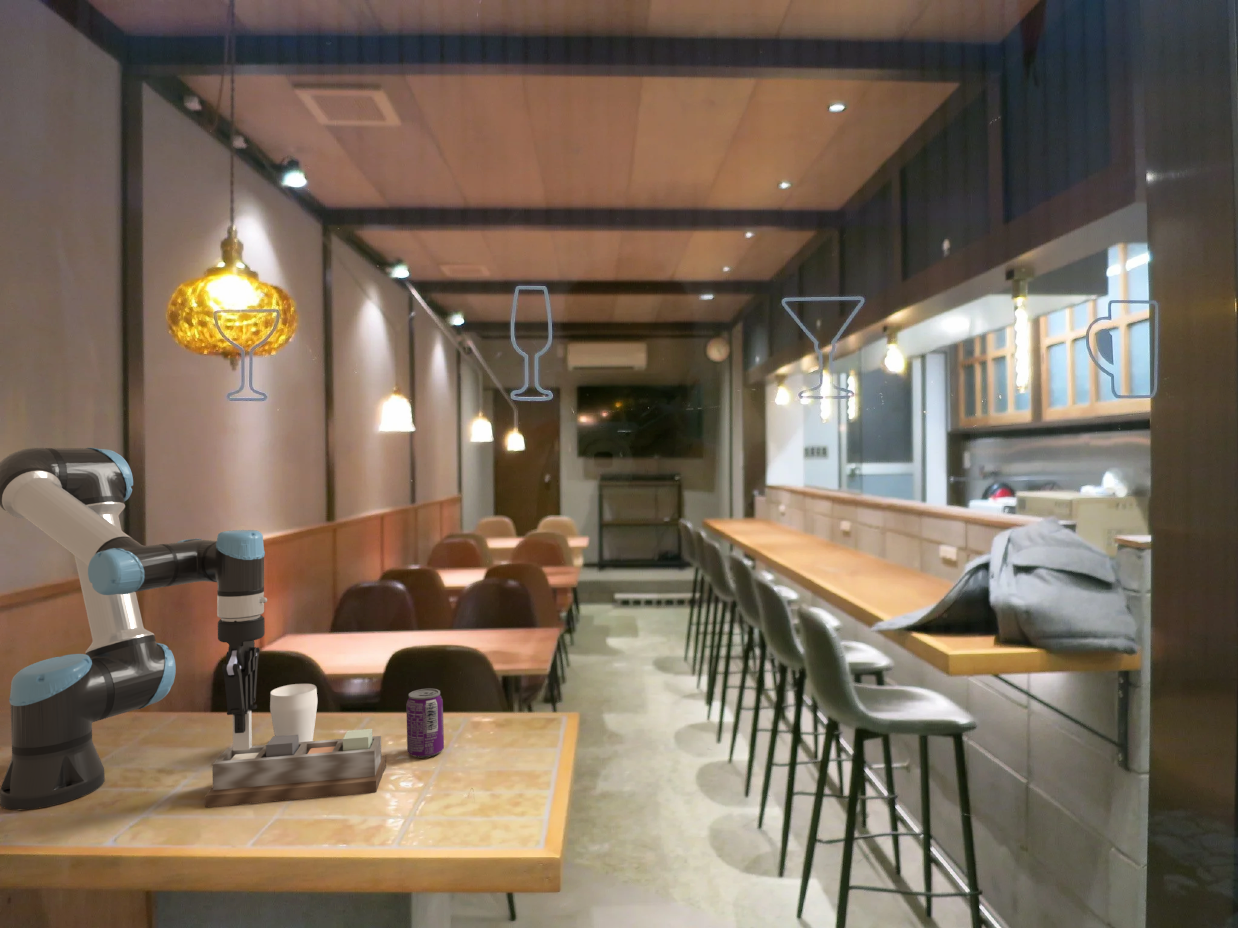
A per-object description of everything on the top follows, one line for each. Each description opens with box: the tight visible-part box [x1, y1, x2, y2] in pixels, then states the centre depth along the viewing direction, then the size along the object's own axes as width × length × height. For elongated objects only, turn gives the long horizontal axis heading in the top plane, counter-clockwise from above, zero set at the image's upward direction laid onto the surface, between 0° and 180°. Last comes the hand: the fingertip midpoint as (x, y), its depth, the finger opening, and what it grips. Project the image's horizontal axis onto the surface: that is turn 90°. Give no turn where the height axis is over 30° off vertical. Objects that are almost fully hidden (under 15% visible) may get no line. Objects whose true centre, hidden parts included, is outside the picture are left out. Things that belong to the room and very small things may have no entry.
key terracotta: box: [308, 746, 335, 754], centre depth 137 cm, size 4×4×3 cm
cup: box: [269, 683, 319, 742], centre depth 155 cm, size 9×9×12 cm
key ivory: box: [231, 753, 259, 760], centre depth 135 cm, size 4×4×3 cm
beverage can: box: [405, 688, 445, 759], centre depth 151 cm, size 7×7×12 cm
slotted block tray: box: [204, 735, 387, 808], centre depth 136 cm, size 28×12×6 cm, turn 99°
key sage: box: [342, 728, 373, 751], centre depth 138 cm, size 4×4×3 cm
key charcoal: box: [265, 734, 299, 757], centre depth 136 cm, size 4×4×3 cm
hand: (242, 748), depth 135 cm, fingers closed
